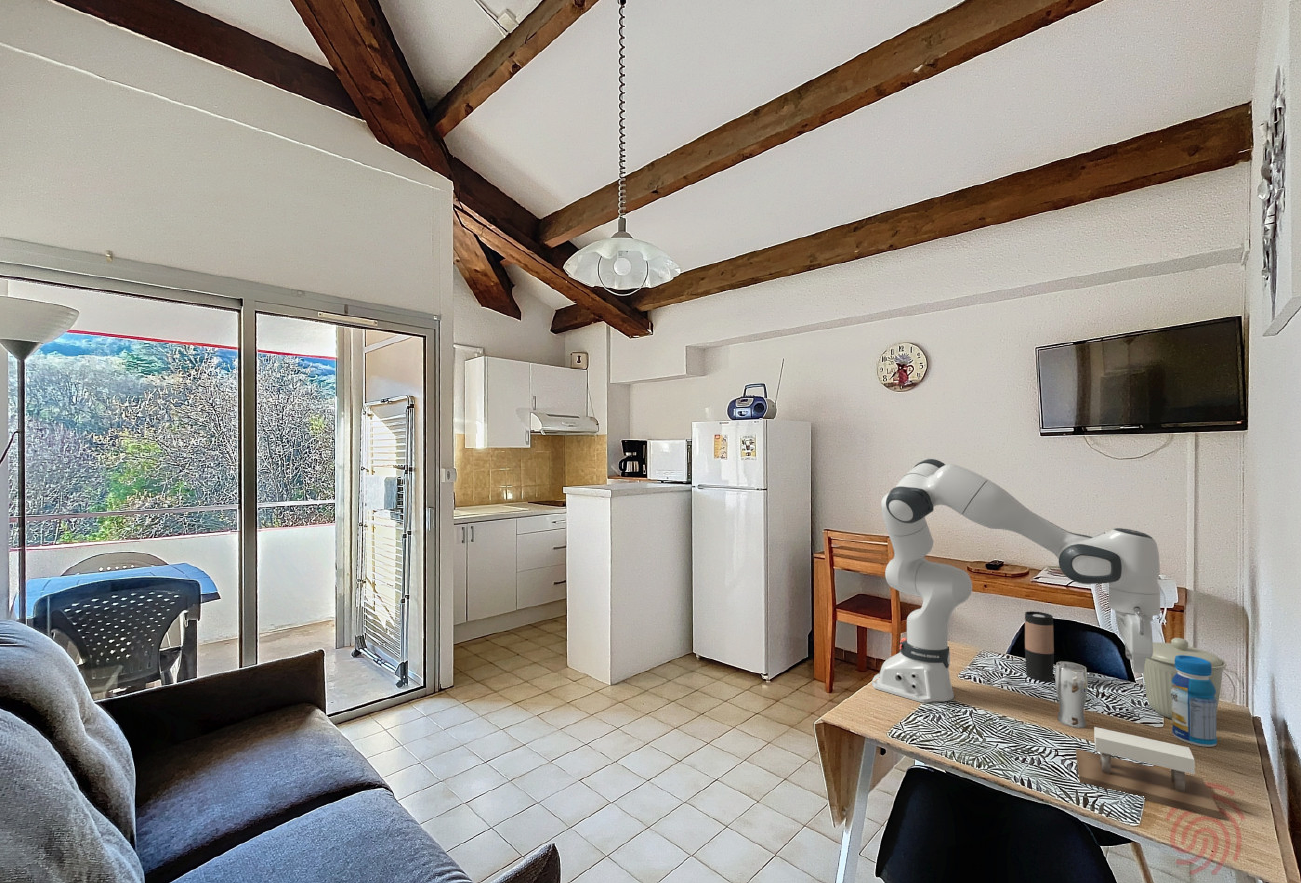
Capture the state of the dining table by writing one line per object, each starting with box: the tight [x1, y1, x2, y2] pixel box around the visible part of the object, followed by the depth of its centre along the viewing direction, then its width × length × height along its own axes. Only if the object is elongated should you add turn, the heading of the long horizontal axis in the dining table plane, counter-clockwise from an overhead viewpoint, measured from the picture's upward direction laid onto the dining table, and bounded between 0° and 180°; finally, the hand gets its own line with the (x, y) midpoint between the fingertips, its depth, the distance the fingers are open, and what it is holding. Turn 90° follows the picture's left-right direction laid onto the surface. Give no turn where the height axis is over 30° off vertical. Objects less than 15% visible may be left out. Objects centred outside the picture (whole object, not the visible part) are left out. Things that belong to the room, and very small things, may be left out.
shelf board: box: [1093, 726, 1196, 776], centre depth 125 cm, size 6×16×3 cm, turn 55°
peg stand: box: [1075, 748, 1221, 820], centre depth 125 cm, size 22×14×6 cm, turn 56°
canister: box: [1142, 637, 1227, 720], centre depth 158 cm, size 18×18×21 cm
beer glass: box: [1054, 661, 1089, 729], centre depth 153 cm, size 7×7×15 cm
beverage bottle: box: [1171, 655, 1218, 748], centre depth 144 cm, size 8×8×20 cm
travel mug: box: [1024, 610, 1055, 682], centre depth 185 cm, size 8×8×20 cm
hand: (1134, 665), depth 128 cm, fingers open, 8 cm apart
